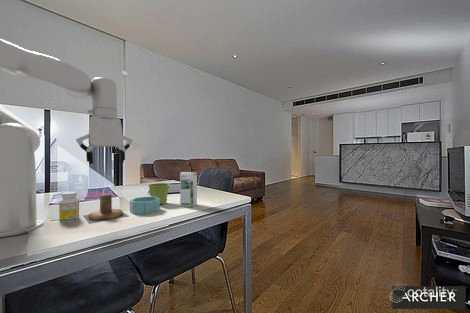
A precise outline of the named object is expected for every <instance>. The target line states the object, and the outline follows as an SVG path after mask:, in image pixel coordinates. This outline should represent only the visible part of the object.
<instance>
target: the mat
mask: <svg viewBox="0 0 470 313" xmlns="http://www.w3.org/2000/svg"><path fill="white" fill-rule="evenodd" d="M88 215H89V214H86V215H82V217H83V218H84V219H85V221H86V222H87V223H88V224H89V225H90V224H95V223H101V222H107V221H112V220H118V219H124V218H128V217H130V216H129V215H128V214H126V213H125V212H124V211H122V215H121V216H120V217H117V218H113V219H108V220H98V221H96V220H89V219H88Z"/></svg>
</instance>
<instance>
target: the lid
mask: <svg viewBox="0 0 470 313" xmlns="http://www.w3.org/2000/svg"><path fill="white" fill-rule="evenodd" d="M112 198H113V197H112V194H111V193H104V194H102V193H101V194H99V210H96V211H92V212H90V213H88V214H87V215H88V219H89V220H96V221H98V220H108V219H113V218H117V217H120V216H121V215H122V212H123V209H121V208H120V209H119V208H113V207H112V206H113V205H112V204H113V203H112V202H113V201H112ZM113 220H114V219H113ZM108 221H109V220H108Z"/></svg>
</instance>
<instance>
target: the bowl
mask: <svg viewBox="0 0 470 313" xmlns="http://www.w3.org/2000/svg"><path fill="white" fill-rule="evenodd" d="M160 210H161V204H160V198H158V197H151V196H140V197H133V198H132V199H130V200H129V212H130V213H131V214H133V215H147V214H148V215H149V214H153V213H157V212H158V211H160Z"/></svg>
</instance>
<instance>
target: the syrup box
mask: <svg viewBox="0 0 470 313" xmlns="http://www.w3.org/2000/svg"><path fill="white" fill-rule="evenodd" d="M179 191H180V194H179V195H180V196H179V199H180V200H179V204H180V205H179V206H180V208H181V207H184V208H185V207H186V208H193V207H195V206H196V205H197V204H198V172H196V171H195V172H193V171H182V172H180V173H179Z"/></svg>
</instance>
